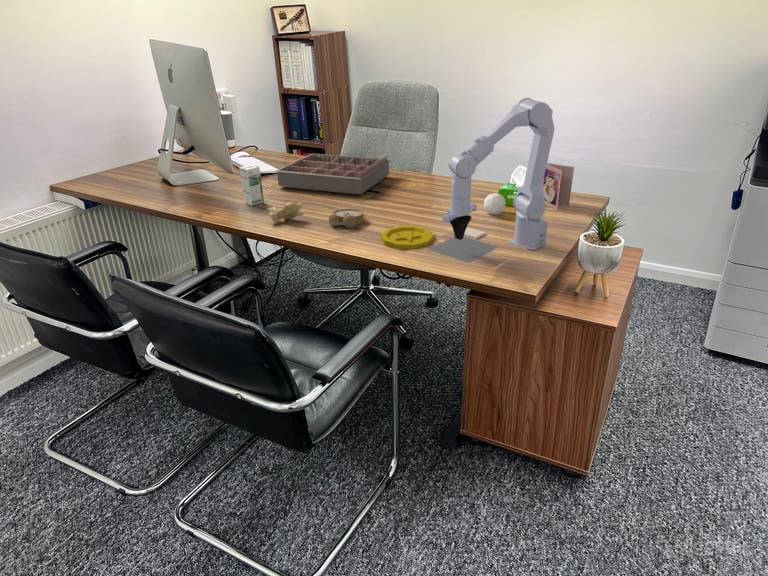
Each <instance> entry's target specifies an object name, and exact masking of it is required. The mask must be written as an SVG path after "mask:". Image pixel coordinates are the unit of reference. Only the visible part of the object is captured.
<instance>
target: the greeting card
mask: <svg viewBox="0 0 768 576" xmlns="http://www.w3.org/2000/svg"><path fill="white" fill-rule="evenodd" d="M574 169H575V166H571V165H570V166H569V165H562V164H556V163H555V164H554V163H549V162H547V166H546V170H545V175H544V179H543V184H542V191H543V193H544V196H545V199H544V203H545V204H544V205H546V204H547V205H546V206H548V205H549V206H551V207H553V208H554V209H553V208H552V209H553V210H555V209H556V210H555V211H557V210H558V206H562V205H565V206H564V207H568V206H569V207H570V201H571V193H572V188H573V187H572V186H573V185H572V184H573V179H574ZM558 204H560V205H558ZM549 206H548V207H549ZM551 207H550V208H551Z"/></svg>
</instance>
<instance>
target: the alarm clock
mask: <svg viewBox="0 0 768 576" xmlns="http://www.w3.org/2000/svg"><path fill="white" fill-rule="evenodd" d="M364 215H365V213H364V210H363V211H362V210H361V209H357V208H341V209H336V210H334V211H332V213H331V214H330V215H329V217H328V222H329V224H330V226H331V227H338V226H344V227H346V228H347V229H352V228H355V226H356V225H360V224H363V223H364V221H365V220H364V219H365V218H364Z"/></svg>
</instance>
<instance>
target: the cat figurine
mask: <svg viewBox="0 0 768 576" xmlns="http://www.w3.org/2000/svg"><path fill="white" fill-rule="evenodd" d="M302 207H303V202H298V203H296V202H294V201H289V202H286V203H285V204H284V206H283V208H281V209H279V208H277V207H276V206H274V205H272V204H271V205H268V213H269V214H268V215H269V217H270V219H271V220H272V221H273V223H275V224H276V225H279V220H280V219H281V220H282V219H284V221H289V220H293V219H294V218H296V217H297V216H304V214H305V212H304V211H303V210H301V209H302Z"/></svg>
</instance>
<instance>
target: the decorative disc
mask: <svg viewBox="0 0 768 576" xmlns="http://www.w3.org/2000/svg"><path fill="white" fill-rule="evenodd" d="M434 239H435V234H434V233H433V232H432V231H431V229H430V228H426V227H422V226H418V225H397V226H394V227H393V226H392V227H390V228H389V227H388V228H386V229H385V230H384V231H383V232H381V234H380V240H381V242H382V243H383V245H384V246H386V247H388V248H392V249H397V250H406V249H416V248H421V247H424V246H428V245H430V243H432V242H433V240H434Z"/></svg>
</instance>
